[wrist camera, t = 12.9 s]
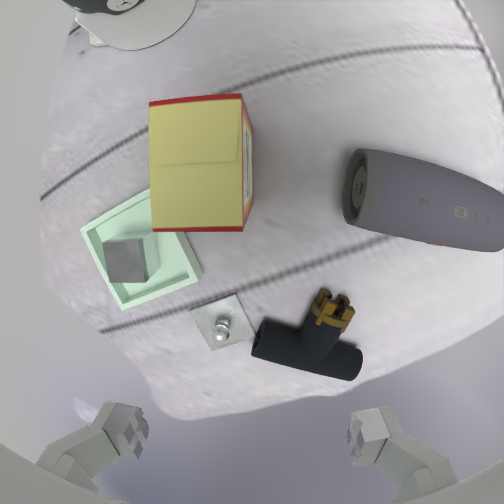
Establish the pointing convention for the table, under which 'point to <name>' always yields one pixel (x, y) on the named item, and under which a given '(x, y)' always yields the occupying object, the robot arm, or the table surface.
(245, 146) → the baking soda box
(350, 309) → the pipe connector
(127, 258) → the brushed steel cube
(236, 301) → the stud
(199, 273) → the tray
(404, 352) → the table surface
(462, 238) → the bluetooth speaker
